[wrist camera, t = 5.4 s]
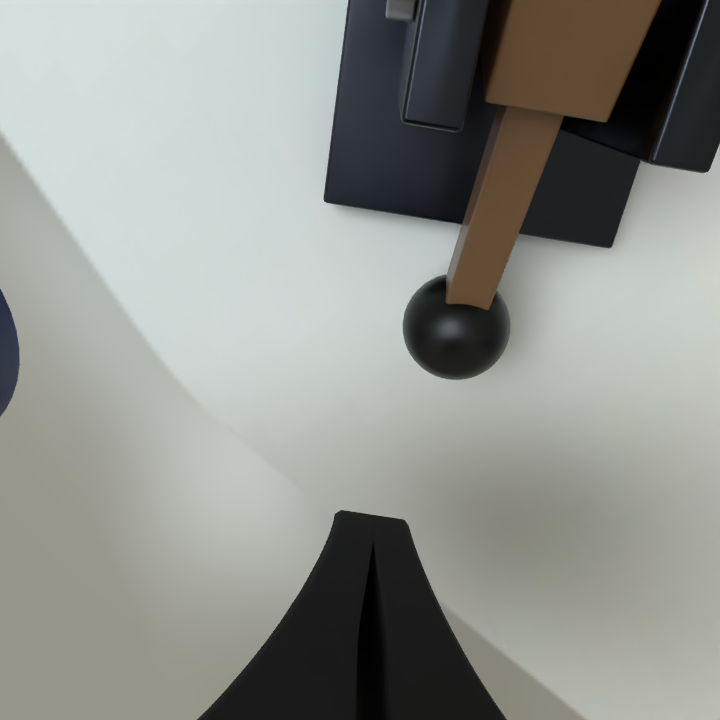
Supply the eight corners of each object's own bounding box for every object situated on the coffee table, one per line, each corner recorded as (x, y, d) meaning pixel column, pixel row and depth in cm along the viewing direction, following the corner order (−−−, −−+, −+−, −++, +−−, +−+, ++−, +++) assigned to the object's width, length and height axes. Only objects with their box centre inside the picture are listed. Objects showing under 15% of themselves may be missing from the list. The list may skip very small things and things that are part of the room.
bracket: (599, 238, 18) (731, 348, 11) (326, 194, 18) (286, 277, 11) (738, -199, 14) (1092, -465, 7) (384, -263, 14) (380, -604, 7)
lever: (491, 332, 19) (495, 408, 17) (397, 318, 19) (391, 392, 17) (670, -106, 11) (716, -53, 9) (505, -135, 10) (517, -88, 9)
